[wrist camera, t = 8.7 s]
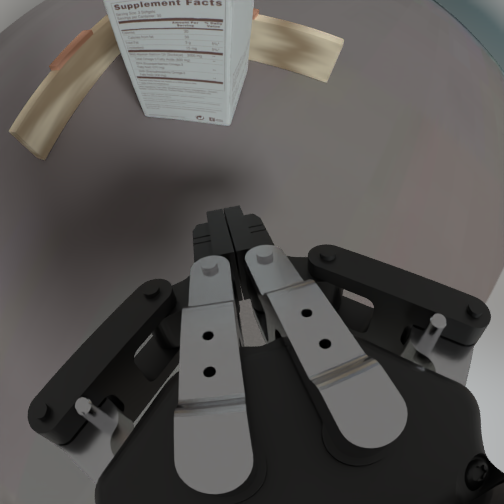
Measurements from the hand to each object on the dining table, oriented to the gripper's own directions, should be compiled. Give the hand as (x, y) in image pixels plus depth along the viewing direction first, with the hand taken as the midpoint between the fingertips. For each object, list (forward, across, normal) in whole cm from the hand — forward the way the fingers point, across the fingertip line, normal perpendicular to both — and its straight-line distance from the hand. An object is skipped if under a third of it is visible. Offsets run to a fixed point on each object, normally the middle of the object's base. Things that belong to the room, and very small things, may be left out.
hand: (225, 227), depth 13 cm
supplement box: (+14, 0, -6) cm, 15 cm away
